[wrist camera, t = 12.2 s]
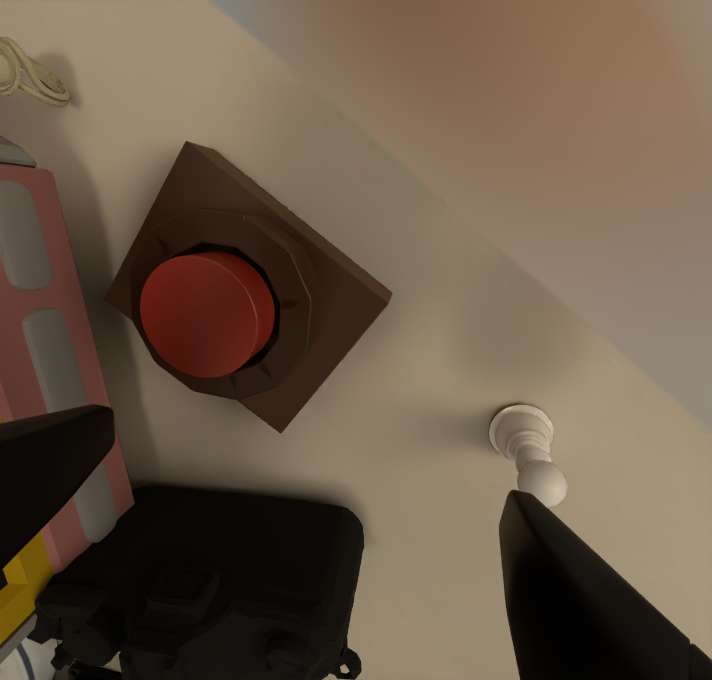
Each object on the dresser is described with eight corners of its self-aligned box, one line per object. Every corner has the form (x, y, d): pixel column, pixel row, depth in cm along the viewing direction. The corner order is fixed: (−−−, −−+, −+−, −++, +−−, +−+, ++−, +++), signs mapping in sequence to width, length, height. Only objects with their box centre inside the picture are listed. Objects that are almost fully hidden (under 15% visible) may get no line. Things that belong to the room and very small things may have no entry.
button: (150, 315, 16) (119, 327, 15) (202, 226, 15) (174, 227, 13) (238, 382, 16) (217, 401, 15) (297, 301, 15) (281, 311, 13)
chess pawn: (509, 466, 20) (536, 545, 15) (476, 422, 19) (493, 490, 15) (563, 437, 19) (610, 512, 14) (529, 392, 18) (566, 453, 14)
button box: (136, 290, 20) (70, 308, 16) (213, 148, 17) (155, 130, 14) (295, 412, 21) (266, 456, 17) (392, 293, 18) (384, 313, 14)
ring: (94, 90, 18) (31, 66, 15) (71, 128, 18) (7, 113, 15) (47, 42, 17) (-27, 8, 14) (25, 83, 18) (-49, 58, 15)
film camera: (141, 604, 26) (-1, 789, 17) (118, 471, 23) (-61, 609, 15) (376, 643, 23) (347, 881, 15) (378, 498, 21) (346, 683, 12)
